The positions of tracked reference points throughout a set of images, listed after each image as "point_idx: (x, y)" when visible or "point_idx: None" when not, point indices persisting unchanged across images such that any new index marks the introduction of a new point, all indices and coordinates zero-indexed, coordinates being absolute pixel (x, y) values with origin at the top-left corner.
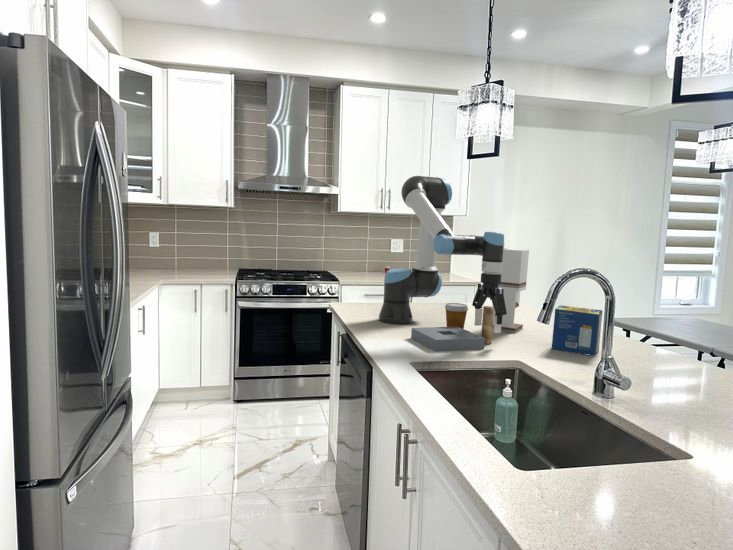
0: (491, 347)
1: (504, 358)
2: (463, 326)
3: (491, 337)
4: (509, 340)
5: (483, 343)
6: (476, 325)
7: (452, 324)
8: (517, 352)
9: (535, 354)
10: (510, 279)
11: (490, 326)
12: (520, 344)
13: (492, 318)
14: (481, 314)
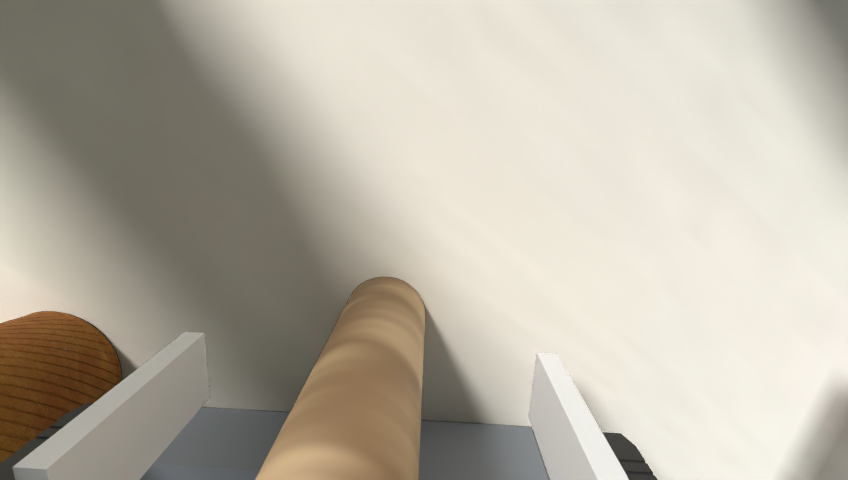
0: (508, 353)
1: (769, 441)
2: (50, 365)
3: (418, 317)
4: (336, 46)
5: (539, 461)
6: (208, 387)
7: None
8: (688, 258)
9: (791, 155)
10: None
11: (421, 398)
12: (488, 44)
13: (415, 445)
14: (118, 418)
